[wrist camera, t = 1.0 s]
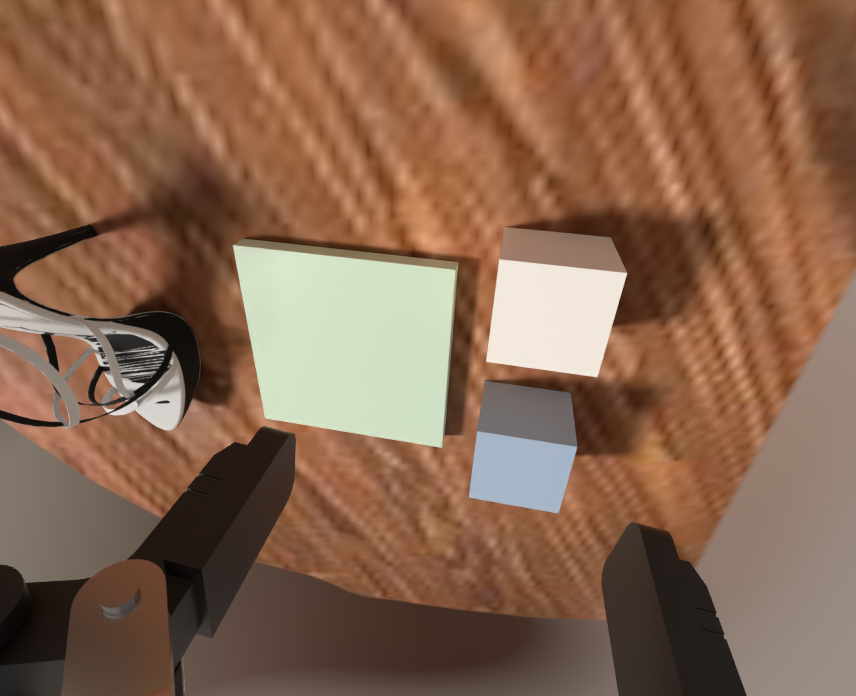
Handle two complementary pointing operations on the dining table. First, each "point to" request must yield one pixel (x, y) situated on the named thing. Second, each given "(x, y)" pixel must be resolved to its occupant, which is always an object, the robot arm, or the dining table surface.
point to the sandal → (101, 346)
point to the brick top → (523, 446)
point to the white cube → (555, 300)
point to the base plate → (350, 337)
